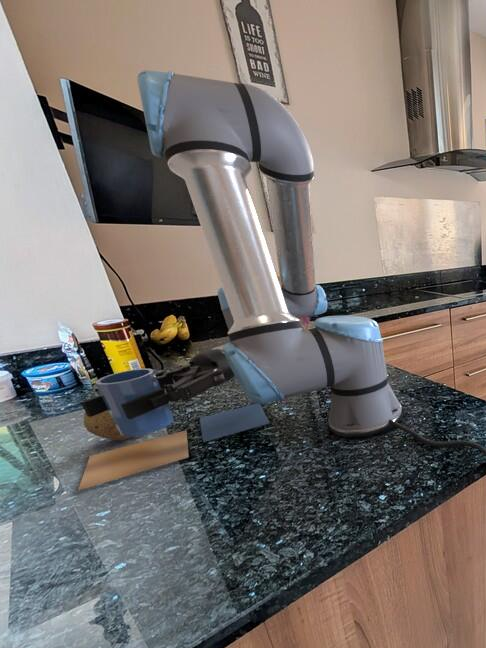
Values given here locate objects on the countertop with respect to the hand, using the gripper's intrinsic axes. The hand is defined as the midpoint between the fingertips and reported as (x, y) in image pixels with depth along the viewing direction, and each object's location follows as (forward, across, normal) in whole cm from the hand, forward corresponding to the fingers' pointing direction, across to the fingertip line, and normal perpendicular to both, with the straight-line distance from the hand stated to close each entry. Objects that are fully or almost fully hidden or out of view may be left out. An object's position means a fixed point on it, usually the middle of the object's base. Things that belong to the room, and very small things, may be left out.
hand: (105, 410), depth 66 cm
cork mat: (-4, +5, -13) cm, 14 cm away
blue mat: (-20, -2, -12) cm, 23 cm away
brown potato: (-10, +16, -13) cm, 22 cm away
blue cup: (-5, 0, -6) cm, 7 cm away
